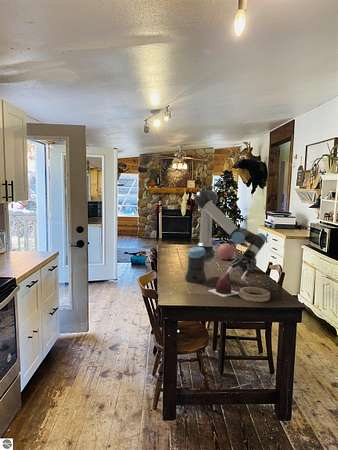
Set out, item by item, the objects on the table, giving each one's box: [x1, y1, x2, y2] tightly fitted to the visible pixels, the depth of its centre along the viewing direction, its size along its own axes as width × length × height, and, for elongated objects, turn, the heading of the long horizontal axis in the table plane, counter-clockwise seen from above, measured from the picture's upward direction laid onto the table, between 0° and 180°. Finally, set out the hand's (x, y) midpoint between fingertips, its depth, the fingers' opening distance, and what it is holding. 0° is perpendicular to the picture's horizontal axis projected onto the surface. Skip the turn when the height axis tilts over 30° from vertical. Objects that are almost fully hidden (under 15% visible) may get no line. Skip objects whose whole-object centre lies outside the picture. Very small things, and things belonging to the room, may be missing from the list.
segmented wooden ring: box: [238, 286, 271, 303], centre depth 209 cm, size 18×18×4 cm
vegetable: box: [215, 271, 232, 294], centre depth 215 cm, size 10×10×15 cm
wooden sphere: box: [238, 252, 257, 272], centre depth 277 cm, size 15×15×15 cm
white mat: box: [207, 288, 239, 298], centre depth 216 cm, size 14×14×1 cm
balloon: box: [217, 242, 239, 261], centre depth 319 cm, size 15×20×15 cm
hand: (234, 277), depth 220 cm, fingers open, 13 cm apart
